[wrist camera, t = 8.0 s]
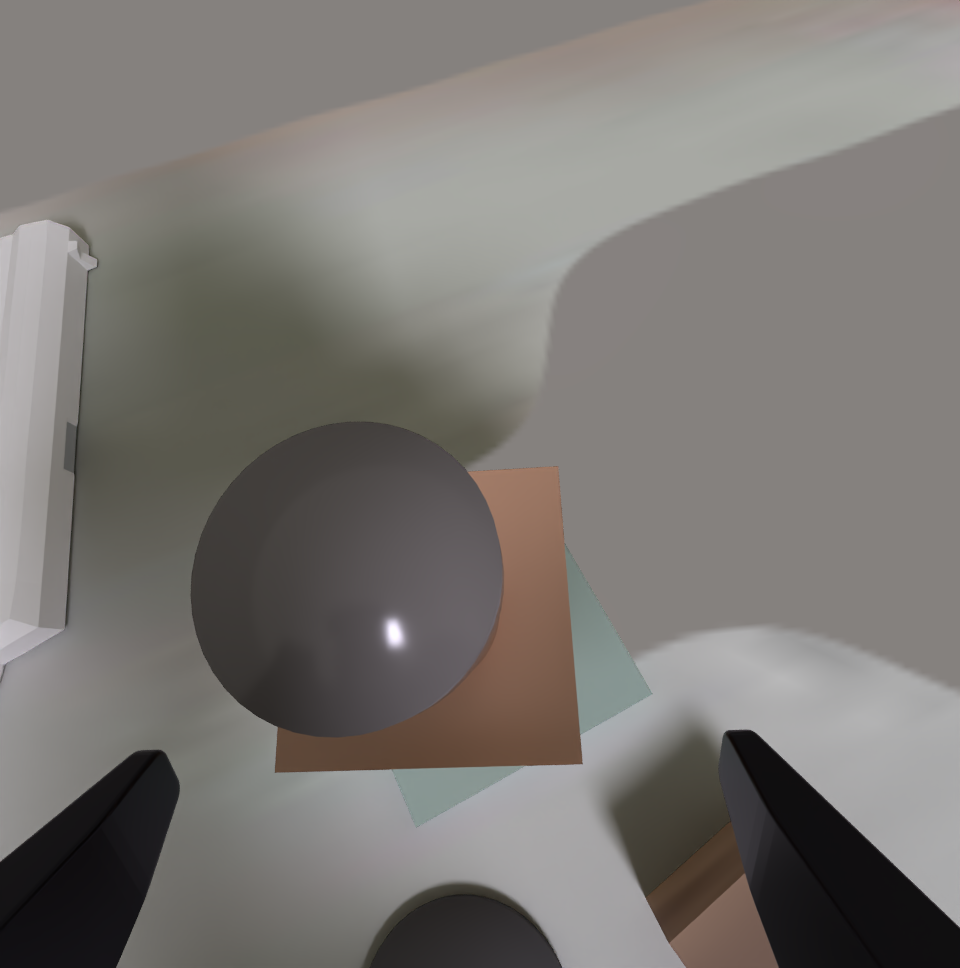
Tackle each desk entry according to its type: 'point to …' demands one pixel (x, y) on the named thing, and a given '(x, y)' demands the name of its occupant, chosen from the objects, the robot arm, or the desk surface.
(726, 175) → the desk surface
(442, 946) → the dark grey puck
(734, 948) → the walnut block
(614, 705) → the mat
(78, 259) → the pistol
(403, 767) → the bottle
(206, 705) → the desk surface
